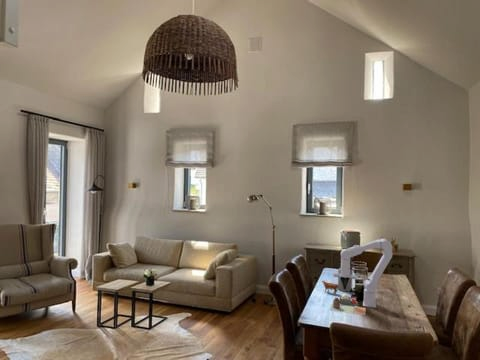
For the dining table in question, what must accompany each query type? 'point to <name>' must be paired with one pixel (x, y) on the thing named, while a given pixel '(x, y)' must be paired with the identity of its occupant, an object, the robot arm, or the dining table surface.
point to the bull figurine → (330, 286)
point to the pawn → (336, 303)
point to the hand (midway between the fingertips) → (344, 289)
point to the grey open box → (348, 301)
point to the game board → (350, 309)
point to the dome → (345, 296)
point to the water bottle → (349, 284)
